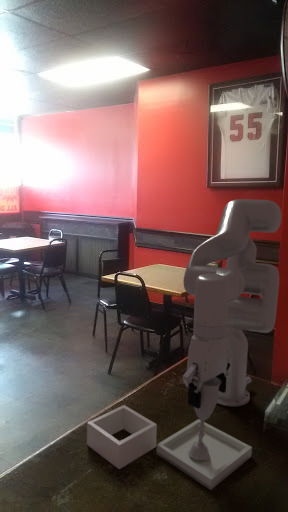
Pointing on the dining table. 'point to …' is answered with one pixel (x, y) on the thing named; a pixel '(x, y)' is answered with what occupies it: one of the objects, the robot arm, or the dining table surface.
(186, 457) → the tray
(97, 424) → the sleeve
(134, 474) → the dining table surface
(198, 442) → the chalice
